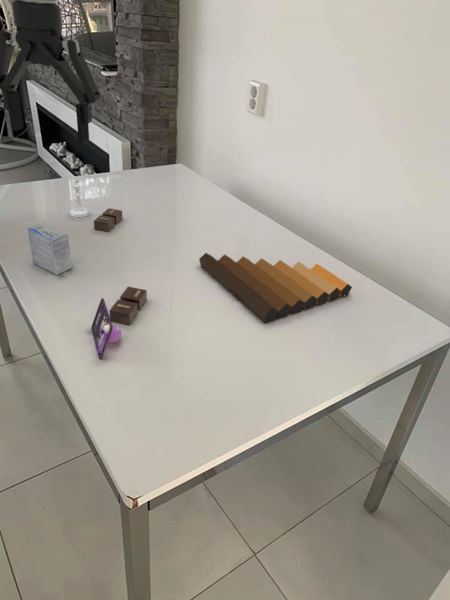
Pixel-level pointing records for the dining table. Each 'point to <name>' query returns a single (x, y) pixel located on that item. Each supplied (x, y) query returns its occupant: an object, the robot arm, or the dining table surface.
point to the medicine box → (50, 248)
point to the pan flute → (275, 285)
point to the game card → (104, 328)
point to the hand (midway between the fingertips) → (50, 135)
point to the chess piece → (78, 202)
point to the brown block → (108, 220)
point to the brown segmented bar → (128, 305)
